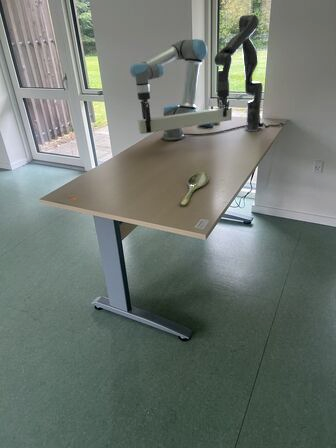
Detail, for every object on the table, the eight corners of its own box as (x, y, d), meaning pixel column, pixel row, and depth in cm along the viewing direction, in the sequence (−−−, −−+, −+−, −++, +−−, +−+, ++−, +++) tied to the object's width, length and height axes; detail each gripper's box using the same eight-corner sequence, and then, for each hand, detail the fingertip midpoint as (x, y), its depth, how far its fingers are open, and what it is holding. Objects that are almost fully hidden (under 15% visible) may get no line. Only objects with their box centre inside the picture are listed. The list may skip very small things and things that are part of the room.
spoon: (193, 209, 156) (193, 205, 155) (172, 207, 159) (171, 203, 158) (212, 175, 182) (212, 172, 181) (193, 174, 186) (193, 170, 184)
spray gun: (223, 120, 277) (206, 120, 284) (223, 115, 275) (206, 115, 281) (214, 128, 262) (197, 127, 268) (214, 122, 260) (196, 122, 266)
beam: (141, 134, 208) (139, 121, 204) (139, 132, 212) (137, 119, 208) (231, 120, 220) (231, 108, 216) (228, 118, 224) (228, 106, 220)
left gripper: (153, 93, 191) (157, 133, 203) (146, 88, 206) (150, 126, 219) (140, 95, 190) (145, 135, 202) (134, 90, 205) (139, 128, 217)
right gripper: (233, 89, 206) (233, 117, 214) (223, 85, 218) (223, 112, 226) (222, 90, 204) (222, 119, 213) (213, 87, 216) (213, 114, 225)
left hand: (148, 130), depth 210 cm, fingers closed on beam, 5 cm apart
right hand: (223, 115), depth 220 cm, fingers closed on beam, 5 cm apart
